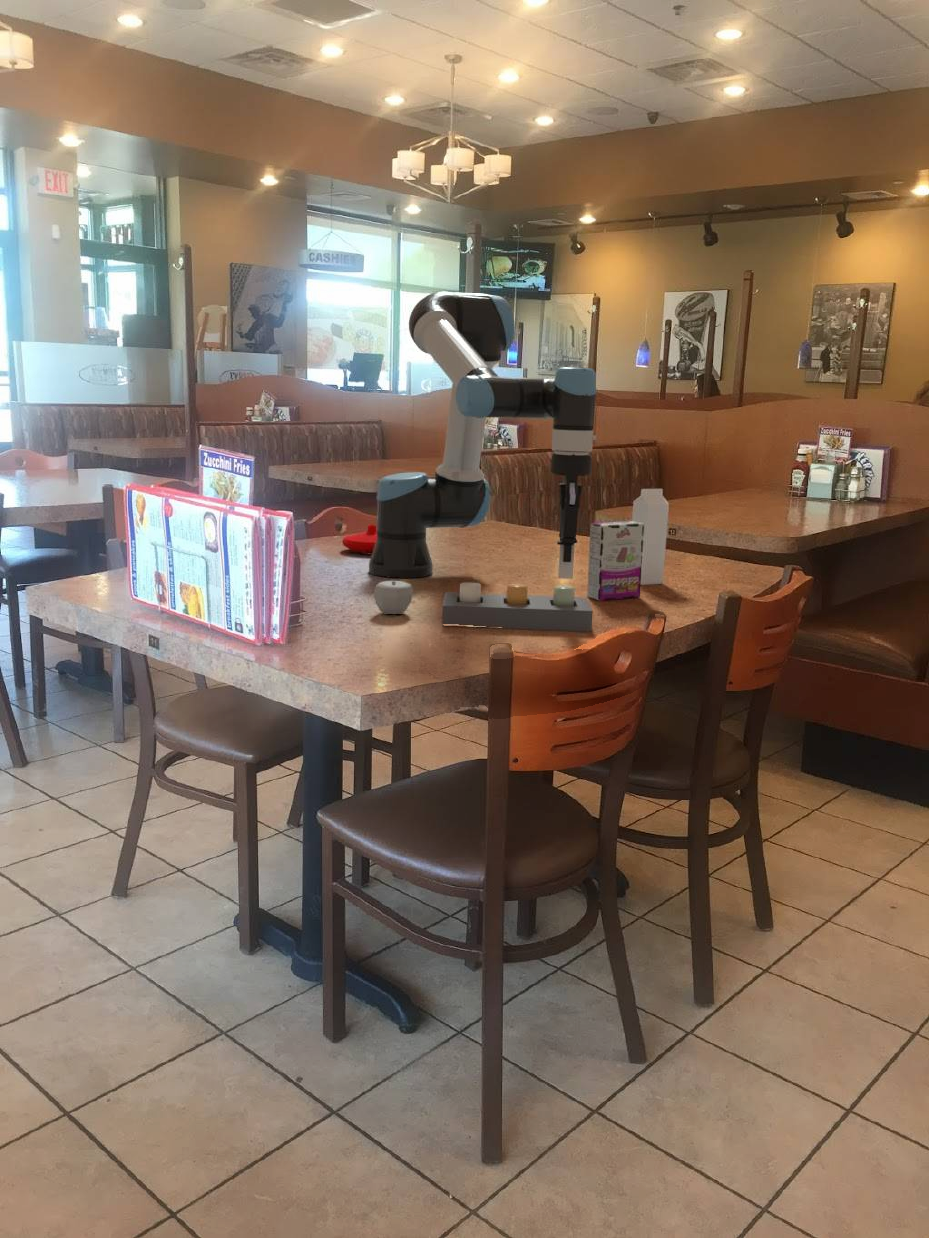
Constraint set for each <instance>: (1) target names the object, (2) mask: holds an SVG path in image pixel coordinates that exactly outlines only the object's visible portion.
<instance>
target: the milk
mask: <svg viewBox="0 0 929 1238" xmlns="http://www.w3.org/2000/svg"><path fill="white" fill-rule="evenodd" d="M663 491H664V489H663V488H642V489H641V490H640V496H638V497H637V498H636V499H634V500H633V502H632V504H633V506H632V515H631V516H632V517H631V521H635V522H639V523H643V524H644V534H643V552H642V568H641V586H646V585H662V584H663V583H664V582H663V581H664V573H665V571H664V570H665V560H666V559H665V558H666V546H667V535H668V533H667V532H668V523H669V522H668V521H669V509H670V503H669V502H668V500H667V499H666V498H665V497H664V495H663V494H664V492H663Z"/></svg>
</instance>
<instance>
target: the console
mask: <svg viewBox="0 0 929 1238" xmlns="http://www.w3.org/2000/svg"><path fill="white" fill-rule="evenodd" d="M506 596H507V594H504V593H503V594H501V593H500V594H498V593H495V594H494V593H493V594H492V593H481V595H480V603H468V602H459V601H460V592H444V596H443V602H442V615H441V617H442V618H441V620H442V621H441V625H442V624H459V625H473V626H486V627H502V628H515V629H514V630H531V631H532V630H533V631H559V632H561V631H562V632H587V633H588V632H590V633H592V631H593V630H592V629H593V613H594V612H593V608H592V606H591V604H590V603H589V600H588V597H585V596H584V597H583V596H574V606H553V595H529V594H527V605H524V604H506Z"/></svg>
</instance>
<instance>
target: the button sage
mask: <svg viewBox="0 0 929 1238" xmlns="http://www.w3.org/2000/svg"><path fill="white" fill-rule="evenodd" d="M575 592H576V588H575V587H574V586H569V585H556V586H553V593H552V594H553V595H552V596H553V606H574V597H575Z"/></svg>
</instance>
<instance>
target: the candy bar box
mask: <svg viewBox="0 0 929 1238" xmlns="http://www.w3.org/2000/svg"><path fill="white" fill-rule="evenodd" d="M589 528H590V529H589V547H588V548H589V550H588V551H589V552H588V571H587V572H588V573H587V574H588V575H587V576H588V577H587V593H586V595H587V597H586V598H589V599H591V600H595V601H597V602H604V601H605V602H606V601H615V600H616V601H617V600H624V599H625V600H626V599H636V598H637V599H638V598H640V596H641V586H642V585H641V568H642V552H643V534H644V524H643V523H639V522H635V521H632V520H627V521H610V522H609V521H608V522H594V523H593V522H592V523H590V527H589Z"/></svg>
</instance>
